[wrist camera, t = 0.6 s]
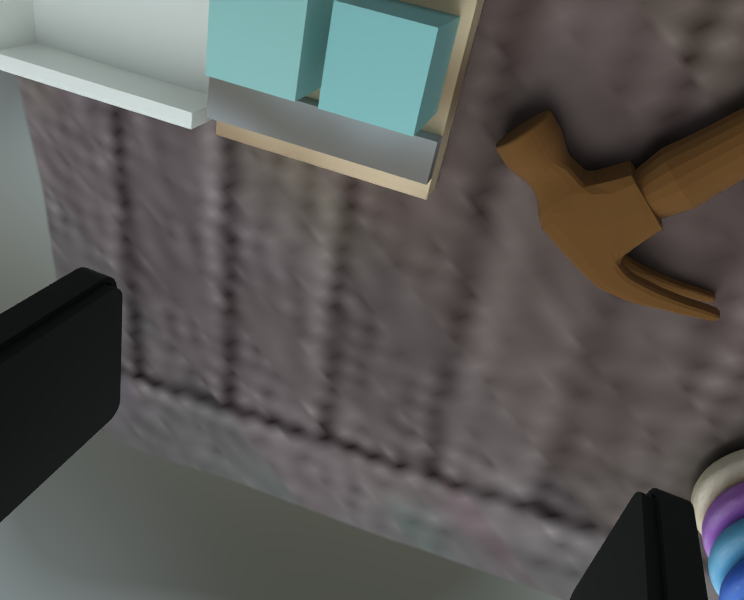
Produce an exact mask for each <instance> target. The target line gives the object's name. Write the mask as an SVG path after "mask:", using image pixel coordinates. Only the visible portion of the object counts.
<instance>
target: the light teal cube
mask: <svg viewBox="0 0 744 600" xmlns="http://www.w3.org/2000/svg"><path fill="white" fill-rule="evenodd" d="M333 3H334V0H209V16H208V35H207V54H206V73H205V75H206V76H210V77H213V78H216V79H220V80H223V81H227V82H230V83H233V84H237V85H240V86H244V87H247V88H250V89H254V90H257V91H260V92H264V93H267V94H271V95H274V96H277V97H281V98H284V99H288V100H291V101H294V102H295V101H297V100H299V99H301V98H303V97H305V96H307V95H309V94H310V93H312V92H314V91H316V90H318V89H320V88H321V84H322V77H323V70H324V64H325V57H326V50H327V43H328V36H329V30H330V23H331V16H332V9H333Z"/></svg>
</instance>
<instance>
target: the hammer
mask: <svg viewBox="0 0 744 600" xmlns="http://www.w3.org/2000/svg"><path fill="white" fill-rule="evenodd" d="M496 150H497V151H498V153H499V155H500V156H501V158H502V159H503V161H504V162H505V163H506V165H507V166H508V167H509V168H510V169H511V170H512V171H513V172H514V173H515V174H516V175H518V176H519V177H520V178H522V179H523V180H525V181H526V182H527V183H528V184H529V185H530V186H531V187H532V189H533V191H534V193H535V195H536V198H537V202H538V215H539V219H540V223H541V228H542V229H543V230H544V231H545V232H546V233H547V234H548V236H549V237H550V238H551V239H552V240H553V242H554V243H555V244H556V245H557V246H558V248H559V249H560V250H561V251H562V252H563V253H564V254H565V255H566V256H567V257H568V258H569V259H570V261H571V262H572V263H573V264H574V265H575V266H576V267H577V268H578V269H579V270H580V271H581V272H582V273H583V274H584V275H585V276H586V277H587V278H588V279H589V280H590V281H591V282H592V283H594V284H595V285H596V286H597V287H599V288H600V289H602V290H604V291H606V292H608V293H610V294H613V295H615V296H617V297H619V298H622V299H624V300H627V301H630V302H633V303H636V304H639V305H644V306H648V307H653V308H658V309H662V310H666V311H670V312H675V313H679V314H683V315H687V316H692V317H696V318H701V319H705V320H710V321H717V320H718V319H719V317H720V312H719V310H718V309H717V308H715V307H713V306H710V305H708V304H705V303H702V302H699V301H696V300H700V301H704V302H712V301H713V300H714V299H715V298H716V297H715V294H714V293H712V292H710V291H708V290H705V289H702V288H700V287H697V286H693V285H690V284H687V283H684V282H681V281H679V280H676V279H673V278H671V277H669V276H666V275H664V274H661V273H659V272H657V271H655V270H653V269H651V268H649V267H647V266H645V265H643V264H641V263H639V262H637V261H635V260H633V259H632V258H630V257H629V256H628V255H627V253H628V252H630V251H631V250H632V249H633V248H635V247H636V246H638V245H639V244H641V243H642V242H644V241H645V240H647V239H648V238H650V237H651V236H653V235H655V234H656V233H658V232H659V231H661V230H662V229H663V228H662V221H661V218H665V217H668V216H671V215H675V214H678V213H681V212H685V211H688V210H691V209H694V208H696V207H698V206H700V205H701V204H703V203H704V202H706V201H708V200H709V199H711V198H712V197H714V196H715V195H717V194H719V193H720V192H722V191H724V190H725V189H727V188H729V187H731V186H732V185H734V184H736V183H738V182H739V181H741V180H743V179H744V107H743V108H742V109H740V110H738V111H736V112H734V113H732V114H730V115H728V116H726V117H724V118H722V119H720V120H718V121H716V122H714V123H713V124H711V125H709V126H707V127H705V128H703V129H701V130H699V131H697V132H695V133H693V134H691V135H689V136H687V137H685V138H683V139H681V140H678V141H676V142H674V143H672V144H670V145H668V146H665V147H663V148H661V149H660V150H658V151H657V152H656V153H655V154H654V155H652V156H651V157H650V158H649V159H648V160H647V161H645V162H644V163H643V164H642V165H641V166H639V167H638V168H637V169H636V168H635V166H634V165H633V164H632V163H631V161H627V162H623V163H620V164H617V165H613V166H610V167H606V168H602V169H598V170H594V171H587V170H585V169H584V168H582V167H581V166H580V165H579V164H578V163H577V162H576V161H575V160H574V159H573V158H572V157H571V156H570V155H569V153H568V150H567V147H566V143H565V138H564V135H563V132H562V130H561V128H560V126H559V124H558V122H557V120H556V119H555V117H554V115H553V114H552V112H551V111H549V110H546V111H543V112H541V113H538V114H537V115H535V116H533V117H532V118H530V119H528V120H527V121H525V122H523V123H522V124H520V125H519V126H517V127H516V128H514V129H513V130H511V131H510V132H508V133H507V134H506V135H505V136H504V137H503V138H502V139H501V140H500V141H499V142H498V143H497V144H496ZM687 297H688V298H687ZM690 298H692V299H690ZM693 299H696V300H693Z"/></svg>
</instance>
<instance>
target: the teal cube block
mask: <svg viewBox="0 0 744 600" xmlns="http://www.w3.org/2000/svg"><path fill="white" fill-rule="evenodd" d="M460 17H461V16H458V15H454V14H450V13H446V12H442V11H438V10H434V9H431V8H427V7H423V6H419V5H415V4H411V3H407V2H404V1H400V0H334V3H333V9H332V16H331V23H330V30H329V36H328V43H327V50H326V57H325V64H324V70H323V77H322V84H321V91H320V97H319V104H318V109H321V110H325V111H328V112H332V113H335V114H338V115H342V116H345V117H349V118H352V119H355V120H359V121H362V122H365V123H369V124H372V125H376V126H379V127H382V128H386V129H389V130H393V131H396V132H399V133H403V134H406V135H410V136H414V135H415V134H416V133H417V132H418V131H419V130H420V129H421V128H422V127H423V126H424V125H425V124H426V123H427V122H428V121H429V120H430V119H431V118H432V117H433V116H434V115H435V114H436V113H437V110H438V106H439V102H440V98H441V94H442V90H443V86H444V81H445V77H446V73H447V69H448V65H449V61H450V57H451V53H452V49H453V45H454V41H455V37H456V33H457V29H458V25H459V21H460Z"/></svg>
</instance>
